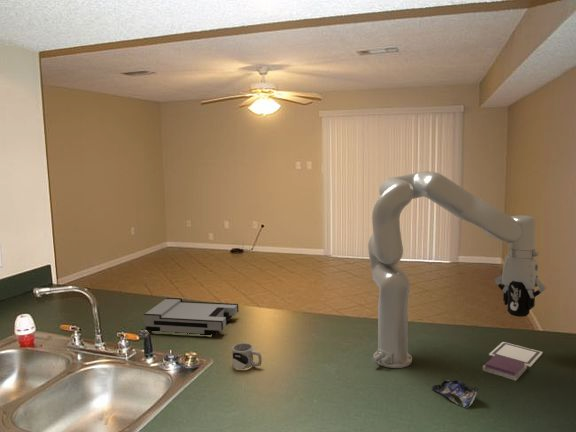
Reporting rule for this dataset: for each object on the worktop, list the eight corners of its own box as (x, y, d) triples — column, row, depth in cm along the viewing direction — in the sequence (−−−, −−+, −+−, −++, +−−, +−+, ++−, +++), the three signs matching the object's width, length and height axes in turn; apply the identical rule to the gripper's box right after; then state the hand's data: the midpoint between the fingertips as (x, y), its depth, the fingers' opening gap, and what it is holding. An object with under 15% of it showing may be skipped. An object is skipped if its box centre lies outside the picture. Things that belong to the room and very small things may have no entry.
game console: (222, 339, 175) (221, 319, 173) (144, 335, 181) (143, 314, 180) (238, 319, 195) (238, 301, 194) (168, 315, 201) (167, 297, 200)
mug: (229, 369, 151) (228, 350, 150) (238, 360, 157) (237, 341, 156) (257, 373, 147) (257, 354, 146) (265, 364, 153) (265, 345, 152)
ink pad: (516, 380, 139) (516, 374, 138) (482, 370, 146) (482, 364, 145) (526, 368, 146) (527, 362, 146) (494, 359, 153) (494, 353, 152)
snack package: (434, 407, 127) (480, 410, 124) (434, 383, 127) (479, 386, 124) (431, 392, 138) (472, 394, 136) (430, 370, 139) (472, 372, 136)
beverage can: (531, 317, 150) (533, 282, 148) (510, 316, 151) (511, 281, 150) (525, 310, 156) (527, 276, 155) (504, 309, 158) (506, 275, 156)
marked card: (530, 367, 147) (530, 365, 147) (488, 355, 156) (488, 353, 156) (542, 353, 156) (543, 351, 156) (502, 342, 165) (502, 341, 165)
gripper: (553, 255, 147) (550, 309, 150) (497, 248, 159) (495, 298, 162) (547, 259, 142) (543, 315, 145) (489, 252, 154) (487, 303, 157)
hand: (518, 305), depth 153 cm, fingers closed on beverage can, 6 cm apart
